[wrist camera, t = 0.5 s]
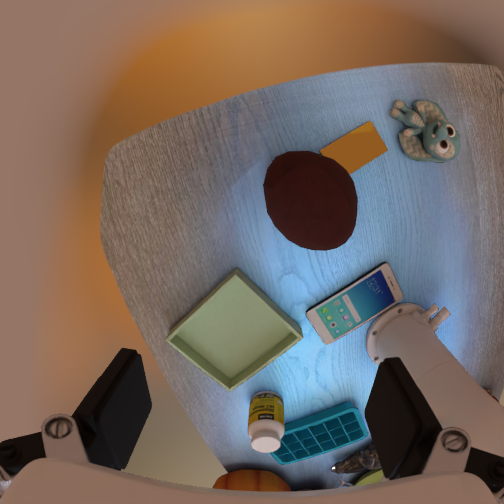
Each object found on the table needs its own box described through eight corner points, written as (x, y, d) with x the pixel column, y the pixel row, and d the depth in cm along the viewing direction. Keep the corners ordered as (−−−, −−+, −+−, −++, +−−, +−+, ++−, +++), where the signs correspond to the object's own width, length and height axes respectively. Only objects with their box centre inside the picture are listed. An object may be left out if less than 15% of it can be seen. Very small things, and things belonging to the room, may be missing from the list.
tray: (237, 267, 44) (235, 273, 41) (301, 328, 46) (303, 337, 43) (170, 330, 47) (164, 340, 44) (231, 381, 50) (229, 392, 47)
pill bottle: (274, 385, 49) (275, 429, 39) (288, 405, 51) (291, 449, 40) (244, 395, 50) (239, 439, 40) (259, 415, 52) (257, 458, 41)
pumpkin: (298, 465, 57) (303, 514, 42) (279, 498, 61) (281, 539, 47) (217, 457, 56) (210, 508, 42) (210, 491, 61) (204, 533, 46)
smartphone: (304, 313, 44) (387, 261, 42) (303, 310, 45) (385, 259, 42) (326, 346, 46) (404, 298, 43) (325, 343, 47) (402, 296, 44)
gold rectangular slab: (318, 151, 39) (336, 181, 40) (319, 150, 38) (338, 181, 38) (367, 122, 38) (385, 150, 38) (370, 120, 36) (388, 150, 37)
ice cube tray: (366, 426, 52) (369, 436, 49) (280, 456, 55) (280, 465, 53) (353, 395, 50) (356, 405, 47) (258, 429, 53) (257, 439, 50)
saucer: (429, 461, 57) (432, 468, 54) (376, 496, 62) (378, 503, 59) (392, 449, 55) (395, 458, 52) (333, 487, 60) (334, 496, 56)
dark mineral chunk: (409, 440, 47) (345, 452, 48) (393, 470, 50) (334, 481, 50) (401, 424, 53) (340, 434, 53) (387, 455, 56) (331, 464, 56)
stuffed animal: (414, 69, 30) (481, 122, 29) (401, 86, 37) (461, 130, 36) (383, 128, 33) (454, 182, 32) (373, 138, 39) (435, 183, 38)
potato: (303, 255, 43) (314, 280, 33) (243, 183, 40) (237, 187, 30) (363, 207, 41) (391, 219, 31) (305, 133, 38) (319, 121, 28)
